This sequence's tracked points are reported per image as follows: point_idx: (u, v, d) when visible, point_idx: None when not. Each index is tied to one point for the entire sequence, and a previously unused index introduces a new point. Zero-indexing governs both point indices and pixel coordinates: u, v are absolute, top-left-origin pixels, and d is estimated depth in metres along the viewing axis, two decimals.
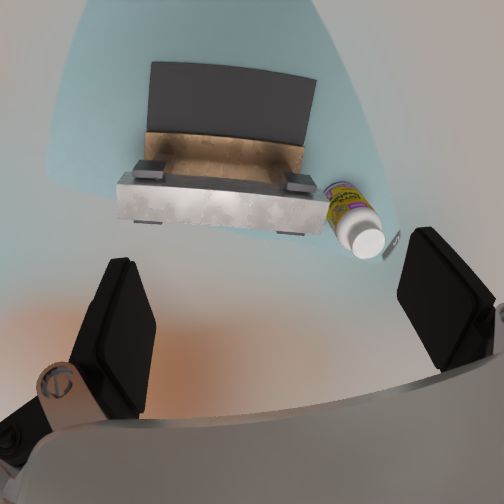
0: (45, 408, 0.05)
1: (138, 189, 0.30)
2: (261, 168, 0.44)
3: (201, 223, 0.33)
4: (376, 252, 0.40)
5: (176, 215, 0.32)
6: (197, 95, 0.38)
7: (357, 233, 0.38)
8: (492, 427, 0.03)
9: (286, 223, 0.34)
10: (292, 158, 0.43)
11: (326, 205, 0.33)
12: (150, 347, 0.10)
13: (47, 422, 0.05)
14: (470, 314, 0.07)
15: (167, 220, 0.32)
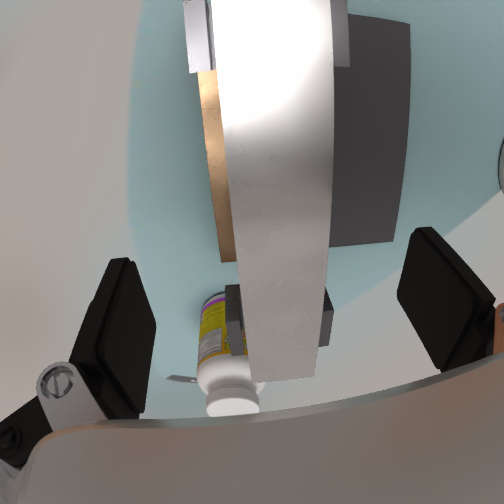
0: (45, 408, 0.05)
1: (317, 8, 0.08)
2: None
3: (232, 186, 0.12)
4: None
5: (246, 115, 0.10)
6: (366, 89, 0.23)
7: (244, 395, 0.25)
8: (492, 427, 0.03)
9: (264, 341, 0.17)
10: None
11: (309, 374, 0.19)
12: (150, 347, 0.10)
13: (47, 422, 0.05)
14: (470, 314, 0.07)
15: (225, 92, 0.10)
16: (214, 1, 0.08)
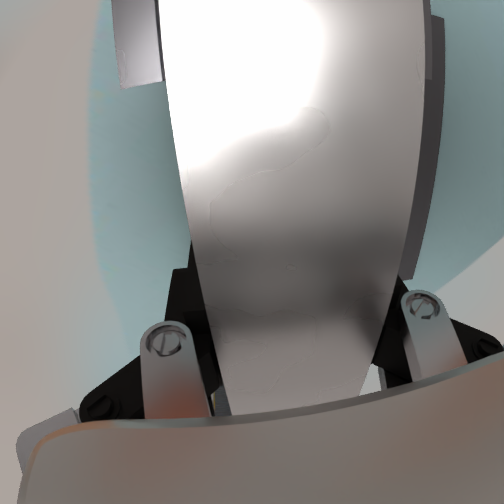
0: (143, 361, 0.06)
1: None
2: None
3: (213, 314, 0.06)
4: None
5: (238, 186, 0.05)
6: None
7: None
8: (492, 427, 0.03)
9: None
10: None
11: None
12: None
13: (139, 374, 0.07)
14: None
15: (187, 133, 0.04)
16: None
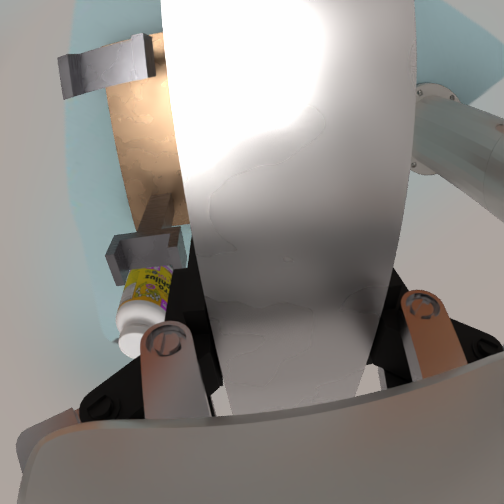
0: (143, 361, 0.06)
1: None
2: (159, 183, 0.34)
3: (213, 306, 0.07)
4: (134, 356, 0.33)
5: (236, 180, 0.05)
6: None
7: (144, 332, 0.31)
8: (492, 427, 0.03)
9: None
10: (183, 213, 0.36)
11: None
12: None
13: (139, 374, 0.07)
14: None
15: (188, 129, 0.05)
16: None
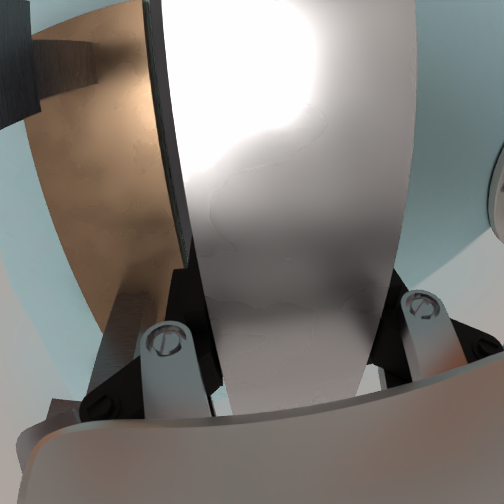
0: (143, 361, 0.06)
1: None
2: (127, 277, 0.20)
3: (213, 306, 0.07)
4: None
5: (237, 180, 0.05)
6: None
7: None
8: (492, 427, 0.03)
9: None
10: None
11: None
12: None
13: (139, 374, 0.07)
14: None
15: (189, 129, 0.05)
16: None
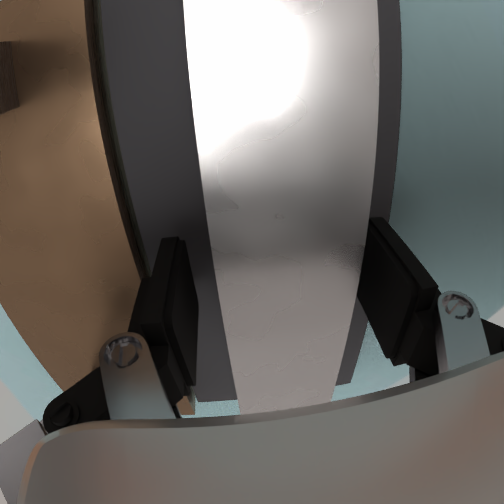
0: (104, 375, 0.06)
1: None
2: (98, 364, 0.14)
3: (218, 257, 0.08)
4: None
5: (239, 151, 0.07)
6: None
7: None
8: (492, 427, 0.03)
9: None
10: None
11: None
12: (196, 324, 0.11)
13: (102, 388, 0.06)
14: (411, 301, 0.07)
15: (203, 112, 0.06)
16: None
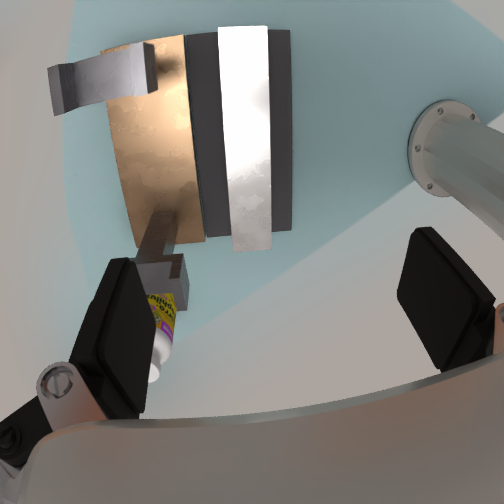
0: (45, 408, 0.05)
1: (262, 51, 0.23)
2: (161, 200, 0.32)
3: (225, 126, 0.26)
4: None
5: (232, 97, 0.25)
6: None
7: None
8: (492, 427, 0.03)
9: (240, 215, 0.31)
10: (186, 232, 0.34)
11: (268, 247, 0.33)
12: (150, 347, 0.10)
13: (47, 422, 0.05)
14: (470, 314, 0.07)
15: (223, 87, 0.24)
16: (220, 49, 0.22)
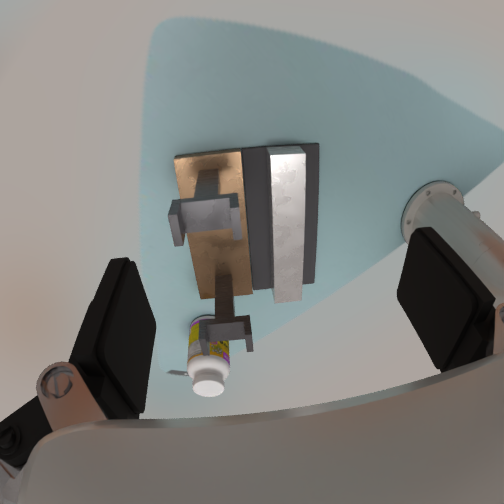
0: (45, 408, 0.05)
1: (301, 173, 0.36)
2: (222, 267, 0.45)
3: (274, 225, 0.39)
4: (203, 394, 0.44)
5: (279, 205, 0.38)
6: None
7: (214, 379, 0.43)
8: (492, 427, 0.03)
9: (281, 280, 0.44)
10: (239, 288, 0.48)
11: (299, 299, 0.47)
12: (150, 347, 0.10)
13: (47, 422, 0.05)
14: (470, 314, 0.07)
15: (273, 199, 0.37)
16: (272, 172, 0.35)
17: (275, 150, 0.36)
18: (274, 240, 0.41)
